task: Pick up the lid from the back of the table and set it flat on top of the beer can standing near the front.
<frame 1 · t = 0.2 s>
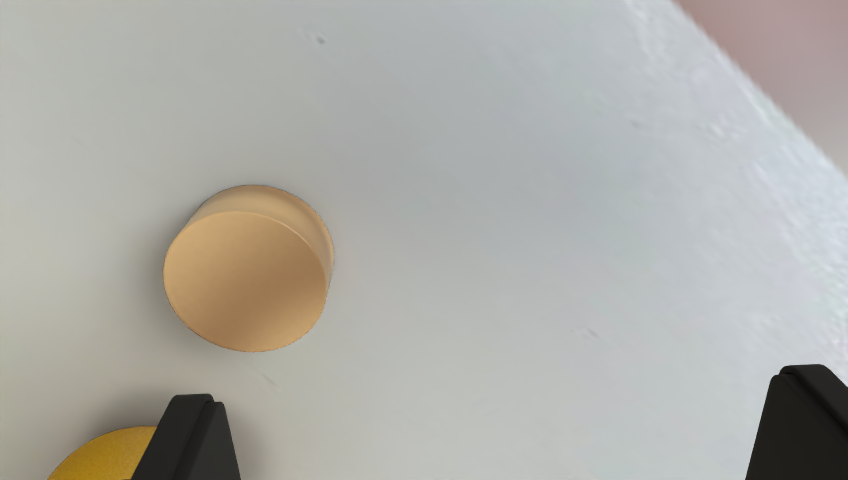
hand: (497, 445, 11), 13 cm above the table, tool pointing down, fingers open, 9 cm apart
fruit: (171, 461, 28), on the table
lid: (260, 253, 23), on the table
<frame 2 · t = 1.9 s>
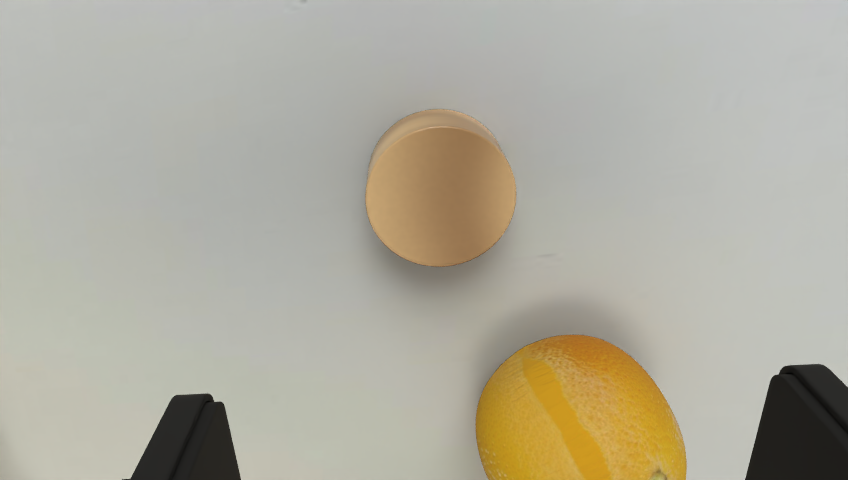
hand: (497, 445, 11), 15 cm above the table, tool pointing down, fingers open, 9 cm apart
fruit: (554, 377, 29), on the table
lid: (437, 177, 25), on the table
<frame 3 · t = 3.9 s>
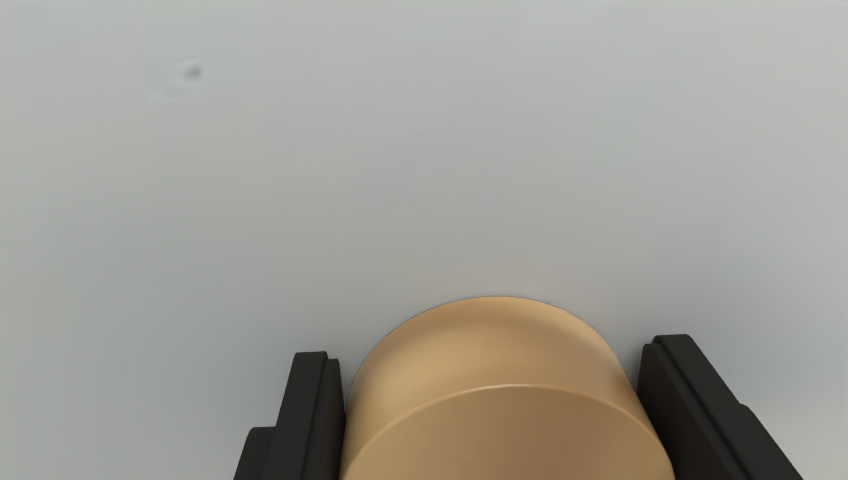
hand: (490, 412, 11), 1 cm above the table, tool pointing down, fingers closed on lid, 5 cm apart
lid: (487, 415, 12), on the table, touching gripper
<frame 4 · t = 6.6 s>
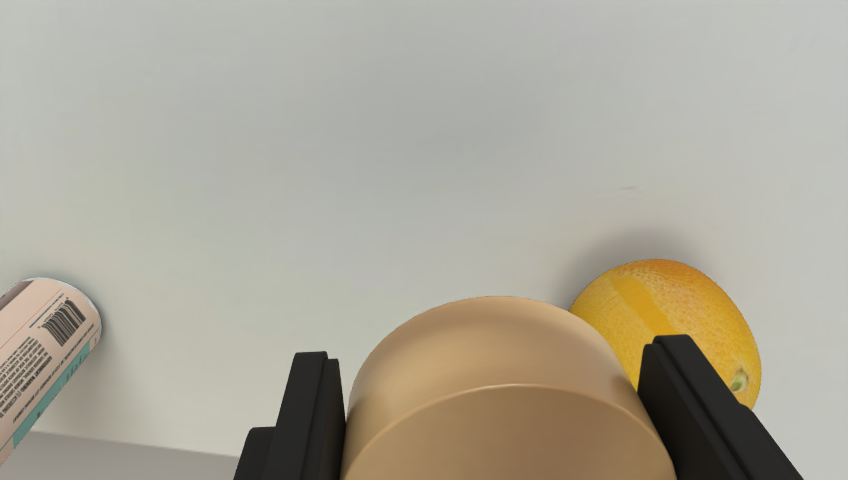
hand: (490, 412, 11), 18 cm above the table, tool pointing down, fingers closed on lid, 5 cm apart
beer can: (59, 311, 31), on the table
fruit: (628, 306, 32), on the table
lid: (488, 415, 12), point 17 cm above the table, touching gripper
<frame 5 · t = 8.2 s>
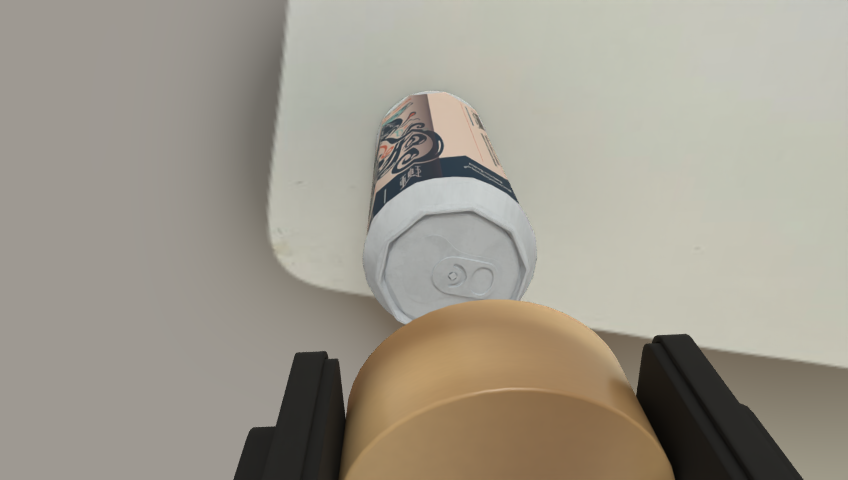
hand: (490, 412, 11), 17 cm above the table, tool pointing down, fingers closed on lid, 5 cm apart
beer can: (430, 141, 27), on the table
lid: (487, 418, 12), point 17 cm above the table, touching gripper
when the fingers open (13 cm above the table, at t = 9.6 s): lid stays where it is, resting on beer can.
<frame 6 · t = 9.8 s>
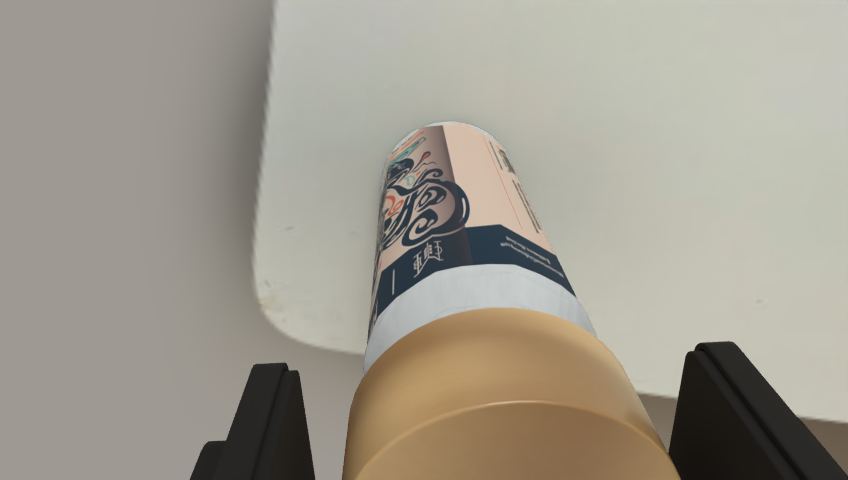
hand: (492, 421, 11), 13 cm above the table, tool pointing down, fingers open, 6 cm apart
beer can: (446, 180, 23), on the table, touching lid
lid: (491, 427, 12), point 12 cm above the table, touching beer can
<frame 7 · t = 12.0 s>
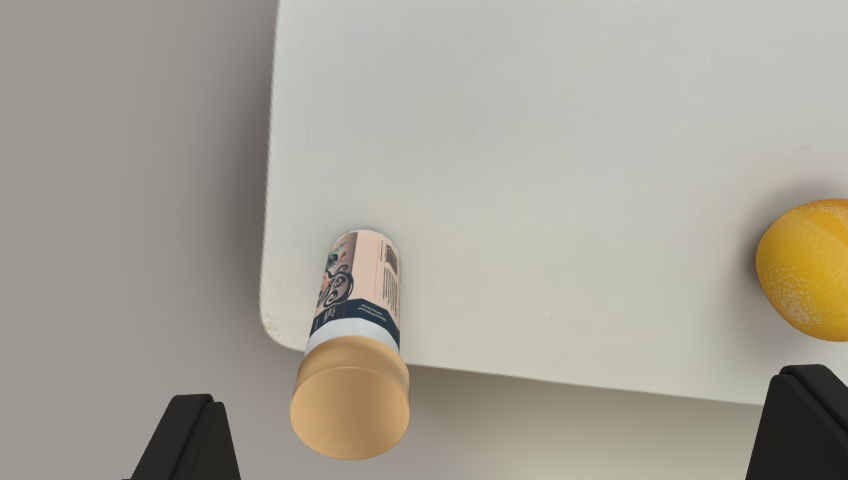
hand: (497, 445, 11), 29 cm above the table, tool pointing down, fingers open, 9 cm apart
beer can: (364, 257, 41), on the table, touching lid
fruit: (793, 240, 42), on the table
lid: (353, 381, 31), point 12 cm above the table, touching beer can
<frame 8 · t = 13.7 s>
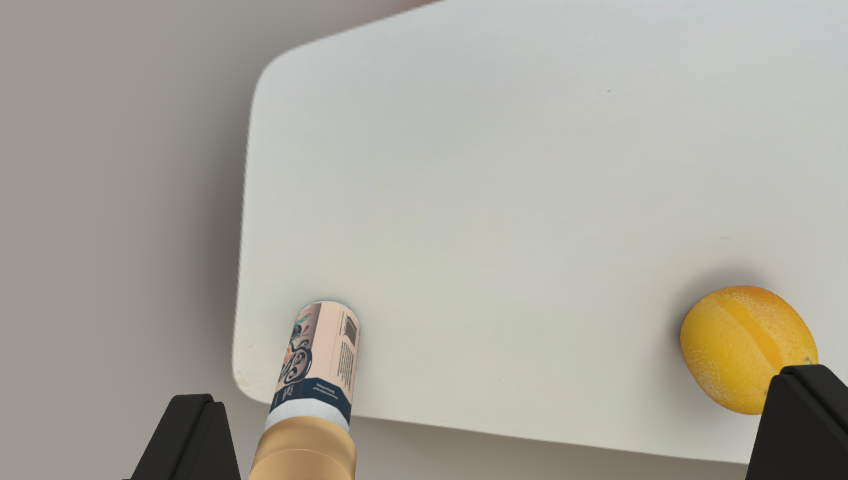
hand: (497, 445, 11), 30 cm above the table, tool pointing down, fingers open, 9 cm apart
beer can: (328, 323, 45), on the table, touching lid
fruit: (718, 316, 46), on the table
lid: (307, 453, 35), point 12 cm above the table, touching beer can
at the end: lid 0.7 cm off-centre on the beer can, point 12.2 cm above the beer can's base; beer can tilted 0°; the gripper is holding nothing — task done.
